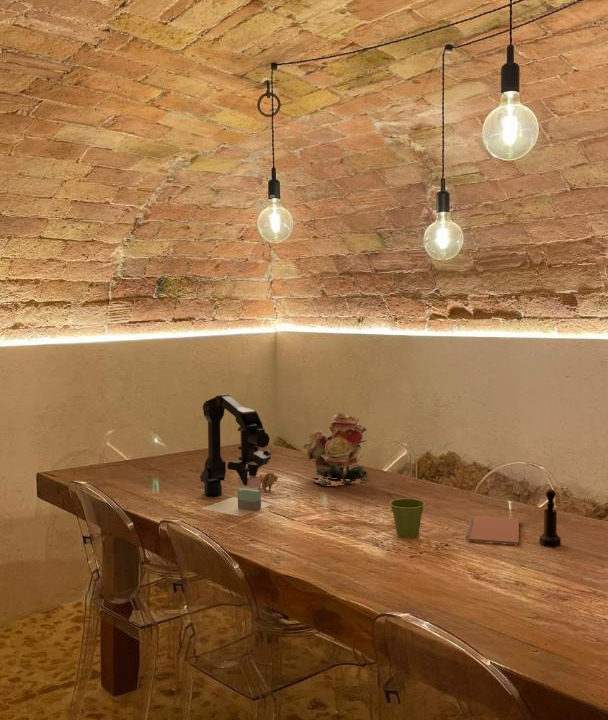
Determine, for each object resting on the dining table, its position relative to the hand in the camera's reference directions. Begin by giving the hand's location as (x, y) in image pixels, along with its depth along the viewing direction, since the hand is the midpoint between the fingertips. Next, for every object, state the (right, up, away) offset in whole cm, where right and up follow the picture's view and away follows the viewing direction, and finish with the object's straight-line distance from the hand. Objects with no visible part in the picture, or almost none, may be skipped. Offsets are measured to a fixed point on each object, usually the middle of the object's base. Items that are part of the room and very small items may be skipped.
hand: (248, 484), depth 289 cm
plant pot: (+56, -12, -33) cm, 66 cm away
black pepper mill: (+100, -12, -44) cm, 110 cm away
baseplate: (-5, -10, +4) cm, 12 cm away
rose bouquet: (+36, -6, +46) cm, 59 cm away
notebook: (+86, -12, -29) cm, 91 cm away
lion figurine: (+5, -8, +29) cm, 31 cm away
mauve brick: (0, -1, 0) cm, 1 cm away
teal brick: (0, -6, 0) cm, 6 cm away
